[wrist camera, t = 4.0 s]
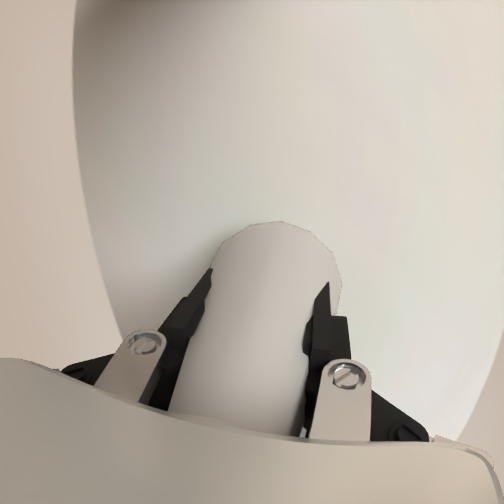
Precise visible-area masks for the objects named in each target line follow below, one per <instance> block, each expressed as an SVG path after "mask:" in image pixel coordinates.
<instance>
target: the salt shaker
mask: <svg viewBox="0 0 504 504" xmlns="http://www.w3.org/2000/svg"><path fill="white" fill-rule="evenodd" d="M210 268H213V272H212V275H211V284H212V286H211V288H210V290H209V292H208V294H207V296H206V298H205V299H204V300H205V312H204V314H203V316H202V318H201V320H200V322H199V324H198V327H197V329H196V331H195V333H194V335H193V336H192V337H191V338H190V341H189V344H188V347H187V350H186V353H185V356H184V360H183V363H182V366H181V369H180V372H179V376H178V379H177V382H176V385H175V389H174V392H173V395H172V398H171V402H170V405H169V408H168V412H171V413H174V414H178V415H182V416H185V417H189V418H193V419H197V420H201V421H206V422H210V423H214V424H219V425H224V426H229V427H234V428H239V429H245V430H251V431H257V432H263V433H270V434H277V435H284V436H293V437H299V436H300V433H301V431H302V428H303V425H304V422H305V404H306V395H305V389H306V382H307V375H308V367H309V356H307V355H305V354H304V353H303V348H304V339H305V329H306V324H307V322H308V321H309V320H310V318H311V317H312V316H313V314H314V300H315V298H316V297H317V295H318V294H319V292H320V291H321V290H322V288H323V287H324V286H325V285H326V283H327V282H328V281H329V286H330V303H331V315H333V316H336V313H337V309H338V304H339V298H340V293H341V287H342V281H341V278H340V274H339V271H338V267H337V264H336V261H335V257H334V255H333V253H332V252H331V251H330V250H329V249H328V248H327V247H326V246H325V245H324V244H323V243H321V242H320V241H319V240H318V239H317V238H316V237H315V236H314V235H313V234H312V233H311V232H310V231H307V230H304V229H301V228H299V227H296V226H293V225H290V224H287V223H285V222H282V221H278V222H270V223H262V224H254V225H250V226H248V227H246V228H245V229H243V230H242V231H240V232H239V233H237V234H236V235H234V236H232V237H231V238H229V239H228V240H226V241H225V242H223V243H222V245H221V247H220V249H219V250H218V252H217V254H216V256H215V258H214V260H213V262H212V264H211V266H210Z"/></svg>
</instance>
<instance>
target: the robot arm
mask: <svg viewBox="0 0 504 504" xmlns="http://www.w3.org/2000/svg"><path fill="white" fill-rule="evenodd" d="M212 272H213V268H209V269H208V270H207V271H206V273H205V274H204V275H203V277H202V278H201V279H200V281H199V282H198V283H197V285H196V286H195V287H194V289H193V290H192V291H191V293H190V294H189V295H188V297H183V298H182V299H181V300H180V302H179V303H178V304H177V306H176V307H175V308H174V310H173V311H172V312H171V313H170V315H169V316H168V317H167V319H166V320H165V321H164V323H163V324H162V325H161V327H160V328H159V329H158V331H154V330H139V331H136V332H133V333H132V334H130V335H128V336H127V337H126V338H125V339H124V341H123V342H122V344H121V345H120V347H119V348H118V350H117V351H116V353H114V354H110V355H107V356H103V357H99V358H95V359H91V360H87V361H83V362H79V363H75V364H72V365H69V366H67V367H66V368H64V369H63V370H62V371H61V372H60V370H59V369H51V368H48V367H46V366H43V365H40V364H37V363H34V362H31V361H27V360H23V359H15V358H0V504H504V496H503V493H502V489H501V486H500V483H499V481H498V478H497V475H496V473H495V471H494V464H493V460H492V457H491V456H490V455H489V454H488V453H487V452H486V451H483V450H481V449H478V448H474V447H471V446H468V445H465V444H461V443H458V442H455V441H452V440H449V439H446V438H443V437H440V436H438V435H436V436H435V437H434V438H432V437H429V435H428V433H427V431H426V429H425V428H424V427H423V426H422V425H421V424H420V423H418V422H417V421H415V420H414V419H412V418H411V417H409V416H408V415H406V414H405V413H404V412H402V411H401V410H399V409H398V408H396V407H395V406H394V405H392V404H391V403H389V402H388V401H387V400H385V399H384V398H382V397H381V396H380V395H378V394H377V393H375V392H374V391H373V390H371V375H370V372H369V371H368V369H367V368H366V367H365V366H364V365H363V364H361V363H359V362H357V361H354V360H351V351H350V341H349V332H348V324H347V317H344V316H333V315H331V303H330V286H329V281H328V282H327V283H326V285H325V286H324V287H323V288H322V290H321V291H320V292H319V294H318V295H317V297H316V298H315V300H314V314H313V316H312V317H311V318H310V320H309V321H308V322H307V324H306V329H305V339H304V348H303V353H304V354H305V355H307V356H309V367H308V375H307V382H306V389H305V395H306V404H305V422H304V425H303V427H304V428H305V429H306V433H305V437H304V438H302V437H293V436H284V435H277V434H270V433H263V432H257V431H251V430H245V429H239V428H234V427H229V426H224V425H219V424H214V423H210V422H206V421H201V420H197V419H193V418H189V417H185V416H182V415H178V414H174V413H171V412H168V408H169V405H170V402H171V398H172V395H173V392H174V389H175V385H176V382H177V379H178V376H179V372H180V369H181V366H182V363H183V360H184V356H185V353H186V350H187V347H188V344H189V341H190V338H191V337H192V336H193V335H194V333H195V331H196V329H197V327H198V324H199V322H200V320H201V318H202V316H203V314H204V312H205V300H204V299H205V298H206V296H207V294H208V292H209V290H210V288H211V286H212V284H211V275H212Z"/></svg>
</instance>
